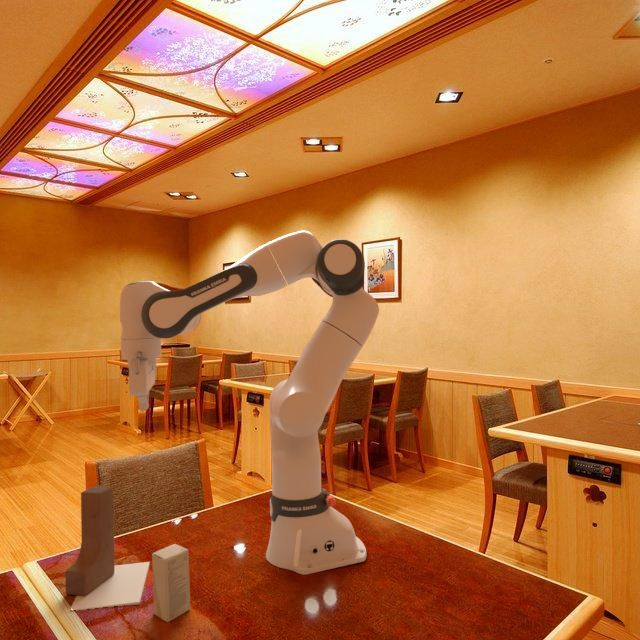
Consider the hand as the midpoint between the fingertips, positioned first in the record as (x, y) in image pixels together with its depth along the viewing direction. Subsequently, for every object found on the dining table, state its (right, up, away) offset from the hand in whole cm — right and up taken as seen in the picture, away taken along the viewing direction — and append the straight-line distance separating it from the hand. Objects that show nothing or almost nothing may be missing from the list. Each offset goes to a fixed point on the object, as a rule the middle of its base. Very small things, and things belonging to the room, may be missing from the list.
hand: (144, 410), depth 119 cm
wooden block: (-4, -31, -18) cm, 36 cm away
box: (+14, -32, -28) cm, 44 cm away
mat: (0, -32, -18) cm, 37 cm away
